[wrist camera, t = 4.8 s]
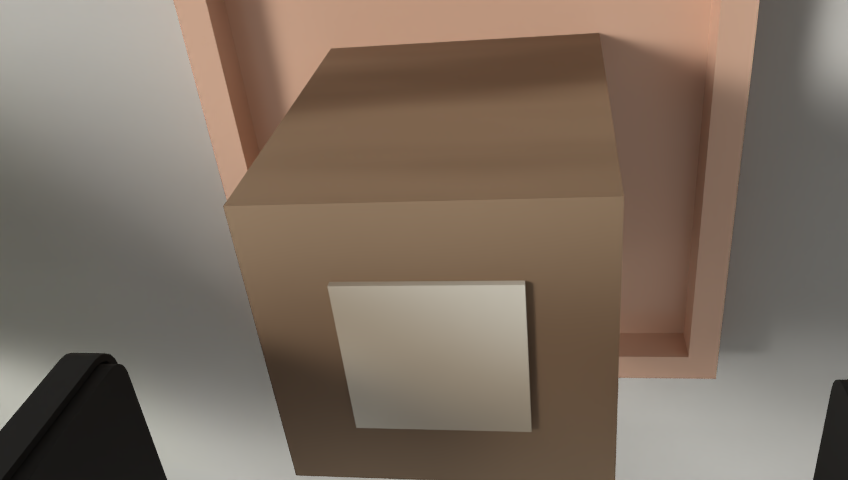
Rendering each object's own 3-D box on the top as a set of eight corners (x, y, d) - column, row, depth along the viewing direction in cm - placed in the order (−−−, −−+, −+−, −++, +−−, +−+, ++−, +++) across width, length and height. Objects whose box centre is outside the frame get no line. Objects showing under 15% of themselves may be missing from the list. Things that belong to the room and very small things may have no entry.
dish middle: (181, -84, 15) (154, -70, 14) (756, -136, 13) (774, -124, 12) (287, 340, 20) (273, 373, 19) (706, 343, 18) (715, 378, 17)
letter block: (331, 48, 15) (220, 210, 10) (599, 32, 14) (624, 200, 9) (367, 265, 18) (294, 480, 13) (596, 263, 17) (615, 491, 12)
